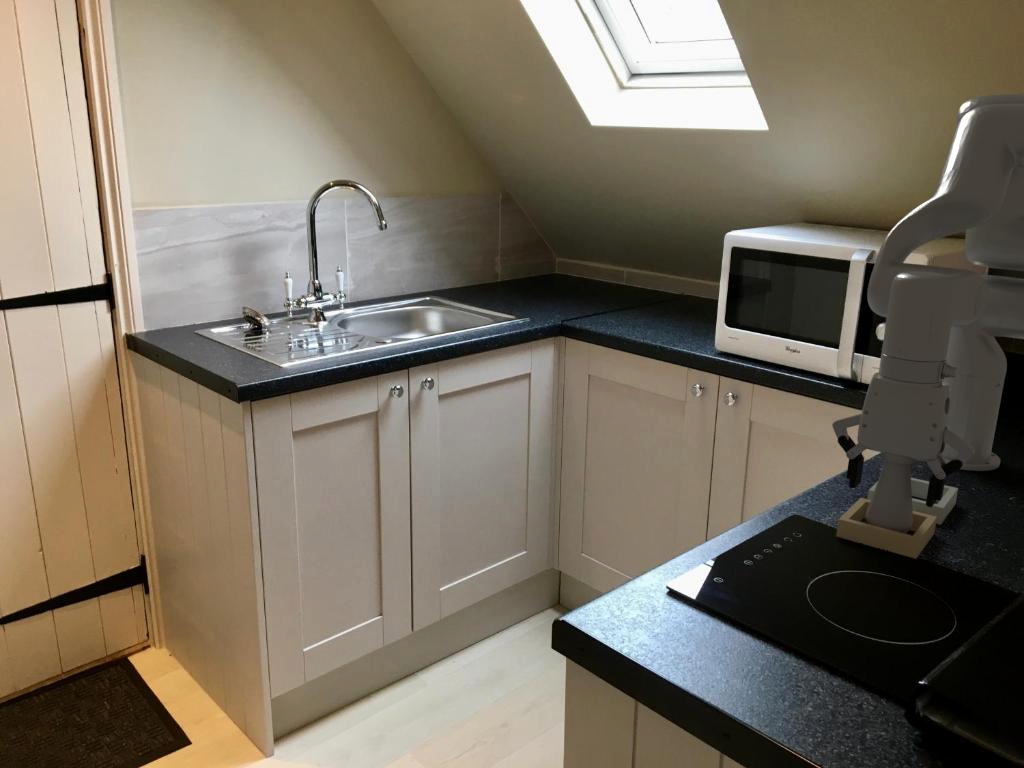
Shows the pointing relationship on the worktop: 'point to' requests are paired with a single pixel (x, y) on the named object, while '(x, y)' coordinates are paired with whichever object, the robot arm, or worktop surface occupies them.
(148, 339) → the worktop surface
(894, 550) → the sockets
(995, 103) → the robot arm
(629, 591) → the worktop surface
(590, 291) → the worktop surface
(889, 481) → the salt shaker
